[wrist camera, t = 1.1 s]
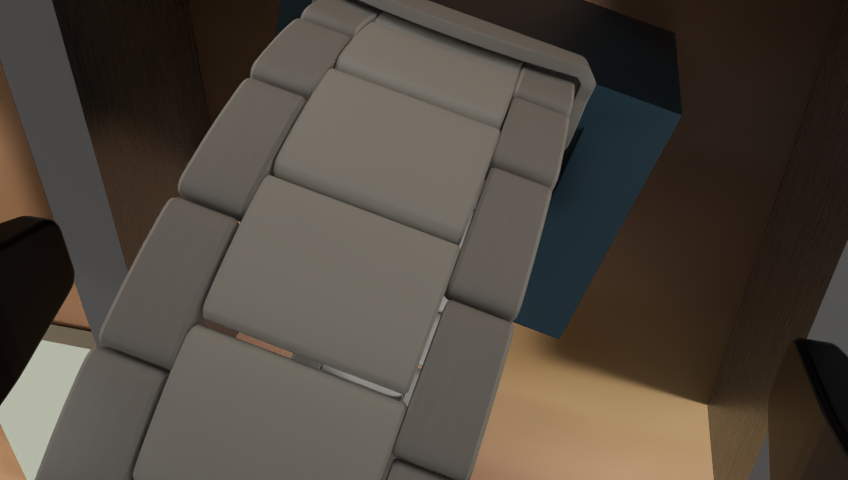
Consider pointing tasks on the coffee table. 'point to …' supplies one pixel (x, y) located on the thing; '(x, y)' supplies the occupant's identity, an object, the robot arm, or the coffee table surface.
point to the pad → (43, 394)
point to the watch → (372, 241)
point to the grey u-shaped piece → (188, 124)
